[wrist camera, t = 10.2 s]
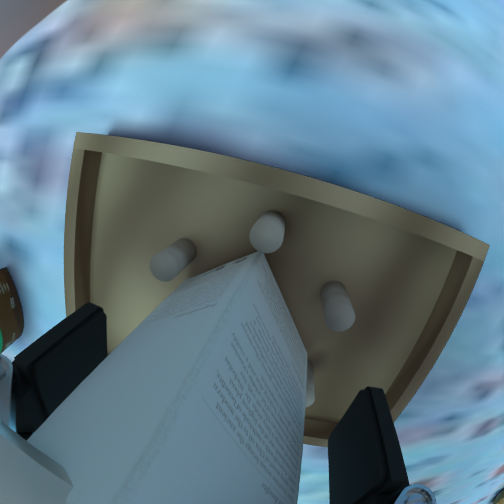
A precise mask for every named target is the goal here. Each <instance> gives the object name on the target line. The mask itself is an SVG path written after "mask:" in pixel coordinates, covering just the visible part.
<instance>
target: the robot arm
mask: <svg viewBox="0 0 504 504" xmlns="http://www.w3.org/2000/svg"><path fill="white" fill-rule="evenodd" d="M107 356H108V352H107V316H106V314H105V313H104V310H103V308H102V307H100V306H97V305H95V304H93V303H91V302H88V303H86V304H84V305H83V306H82V307H80V308H79V309H77V310H76V311H75V312H73V313H72V314H71V315H69V316H68V317H66V318H65V319H64V320H62V321H61V322H60V323H58V324H57V325H56V326H54V327H53V328H52V329H50V330H49V331H48V332H46V333H45V334H44V335H42V336H41V337H40V338H39V339H37V340H36V341H35V342H33V343H32V344H31V345H30V346H28V347H27V348H26V349H24V350H23V351H22V352H21V353H19V354H18V355H17V356H16V357H14V358H15V360H14V361H13V362H12V363H11V361H10V360H9V359H8V358H7V357H6V356H4V355H2V354H0V504H65V502H66V499H67V497H68V495H69V493H70V492H71V490H72V489H73V487H74V486H73V484H72V482H71V480H70V478H69V476H68V474H67V472H66V470H65V468H64V467H63V466H62V465H60V464H59V463H57V462H56V461H54V460H53V459H51V458H50V457H48V456H47V455H45V454H44V453H42V452H41V451H40V450H38V449H37V448H35V447H34V446H33V445H31V444H30V443H29V442H27V440H28V439H29V438H30V437H31V436H32V434H33V433H34V432H35V431H36V430H37V429H38V428H39V427H40V426H41V425H42V424H43V423H44V422H45V421H46V420H47V418H48V417H49V416H50V415H51V414H52V413H53V412H54V411H55V409H56V408H57V407H58V406H59V405H60V404H61V403H62V402H63V401H64V400H65V399H66V398H67V397H68V396H69V395H70V394H71V393H72V392H73V391H74V390H75V389H76V388H77V387H78V386H79V385H80V383H81V382H82V381H83V380H84V379H85V378H86V377H88V376H89V375H90V374H91V373H92V372H93V370H94V369H95V368H96V367H97V366H98V365H99V364H100V363H101V362H102V361H103V360H104V359H105V358H106V357H107ZM328 459H329V493H330V504H436V499H435V496H434V494H433V493H432V491H431V490H430V489H429V488H427V487H426V486H423V485H420V484H413V485H409V481H408V477H407V472H406V468H405V464H404V460H403V456H402V452H401V448H400V445H399V441H398V437H397V434H396V430H395V427H394V423H393V420H392V416H391V413H390V409H389V406H388V403H387V400H386V396H385V393H384V391H383V389H382V388H376V387H369V386H367V387H366V388H365V389H364V390H363V389H362V390H360V391H359V392H358V394H357V395H356V397H355V399H354V400H353V402H352V403H351V405H350V406H349V408H348V409H347V411H346V412H345V414H344V415H343V417H342V418H341V420H340V421H339V423H338V424H337V426H336V427H335V428H334V430H333V431H332V433H331V434H330V436H329V439H328Z"/></svg>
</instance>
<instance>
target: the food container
mask: <svg viewBox="0 0 504 504" xmlns="http://www.w3.org/2000/svg"><path fill="white" fill-rule="evenodd" d="M23 328H24V320H23V312H22V307H21V303H20V300H19V297H18V293H17V291H16V288H15V285H14V283H13V280H12V278H11V276H10V274H9V272H8V270H7V268H6V267H5V268H3V269H0V354H1V353H2V352H3V351H4V350H5V349H6V348H8V347H9V346H10V345H11V344H12V343H13V342H14V341H15V340H16V339H18V338H19V337H20V336H21V334H22V332H23Z"/></svg>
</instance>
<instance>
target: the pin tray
mask: <svg viewBox="0 0 504 504" xmlns="http://www.w3.org/2000/svg"><path fill="white" fill-rule="evenodd" d="M489 246H490V245H489V244H486V243H484V242H482V241H480V240H478V239H476V238H474V237H472V236H470V235H467V234H465V233H463V232H461V231H459V230H456V229H454V228H452V227H449V226H447V225H445V224H442V223H440V222H437V221H435V220H433V219H430V218H428V217H425V216H423V215H420V214H418V213H415V212H412V211H410V210H407V209H405V208H402V207H399V206H397V205H394V204H391V203H388V202H386V201H383V200H380V199H377V198H374V197H371V196H368V195H366V194H363V193H360V192H357V191H354V190H351V189H347V188H344V187H341V186H338V185H335V184H332V183H328V182H325V181H322V180H318V179H315V178H312V177H308V176H305V175H301V174H298V173H294V172H290V171H287V170H283V169H279V168H276V167H272V166H268V165H264V164H260V163H256V162H252V161H248V160H243V159H239V158H235V157H230V156H226V155H221V154H217V153H212V152H207V151H202V150H197V149H192V148H187V147H182V146H176V145H171V144H165V143H159V142H153V141H146V140H140V139H133V138H126V137H119V136H111V135H102V134H92V133H82V132H76V137H75V142H74V148H73V154H72V160H71V167H70V174H69V182H68V191H67V201H66V214H65V232H64V287H65V305H66V317H68V316H69V315H71V314H72V313H73V312H75V311H76V310H77V309H79V308H80V307H82V306H83V305H84V304H86V303H88V302H91V303H93V304H95V305H97V306H100V307H102V308H103V310H104V313H105V314H106V316H107V352H108V355H109V354H110V353H111V352H112V351H113V350H114V349H115V348H116V347H117V346H118V345H119V344H120V343H121V342H122V341H123V340H124V339H125V338H126V337H127V336H128V335H129V334H130V333H131V332H132V331H133V330H134V329H135V328H136V327H137V326H138V325H139V324H140V323H141V322H142V321H143V320H144V319H145V318H146V317H147V316H148V315H149V314H151V313H152V312H153V311H154V310H155V309H156V308H157V307H158V306H159V305H160V304H161V303H162V302H163V301H164V300H165V299H166V298H167V297H168V296H169V295H170V294H171V293H172V292H173V291H175V290H176V289H177V288H178V287H179V286H180V285H181V284H182V283H183V282H184V281H185V280H186V279H188V278H191V277H194V276H197V275H199V274H202V273H204V272H207V271H209V270H212V269H214V268H217V267H219V266H221V265H224V264H226V263H229V262H232V261H234V260H237V259H239V258H242V257H245V256H247V255H250V254H252V253H255V252H257V251H259V252H262V253H264V255H265V258H266V260H267V262H268V264H269V267H270V269H271V271H272V273H273V276H274V278H275V280H276V282H277V285H278V287H279V289H280V291H281V294H282V296H283V298H284V301H285V303H286V305H287V307H288V310H289V312H290V314H291V317H292V319H293V321H294V323H295V326H296V328H297V330H298V333H299V335H300V337H301V340H302V342H303V344H304V347H305V349H306V351H307V382H306V403H305V420H304V435H303V444H308V445H315V446H322V447H328V439H329V436H330V434H331V433H332V431H333V430H334V428H335V427H336V426H337V424H338V423H339V421H340V420H341V418H342V417H343V415H344V414H345V412H346V411H347V409H348V408H349V406H350V405H351V403H352V402H353V400H354V399H355V397H356V395H357V394H358V392H359V391H360V390H362V389H363V390H364V389H365V388H366V387H367V386H369V387H376V388H382V389H383V391H384V393H385V396H386V400H387V403H388V406H389V409H390V413H391V416H392V420H393V423H394V421H395V420H396V419H397V418H398V416H399V415H400V414H401V412H402V411H403V410H404V408H405V407H406V406H407V404H408V403H409V402H410V400H411V399H412V397H413V396H414V394H415V393H416V392H417V390H418V389H419V387H420V386H421V384H422V383H423V381H424V380H425V378H426V377H427V375H428V373H429V372H430V370H431V369H432V367H433V365H434V364H435V362H436V360H437V359H438V357H439V355H440V354H441V352H442V350H443V348H444V347H445V345H446V343H447V341H448V339H449V338H450V336H451V334H452V332H453V330H454V328H455V326H456V324H457V322H458V320H459V318H460V316H461V314H462V312H463V310H464V308H465V306H466V304H467V301H468V299H469V297H470V295H471V292H472V290H473V288H474V285H475V283H476V281H477V278H478V276H479V273H480V271H481V268H482V265H483V263H484V260H485V257H486V254H487V252H488V249H489Z"/></svg>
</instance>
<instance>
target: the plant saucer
mask: <svg viewBox="0 0 504 504" xmlns="http://www.w3.org/2000/svg"><path fill="white" fill-rule="evenodd" d="M493 504H504V489H503V490H502V491H501V492H500V493H499V494H498V495H497V496H496V498H495V500H494V502H493Z"/></svg>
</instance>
